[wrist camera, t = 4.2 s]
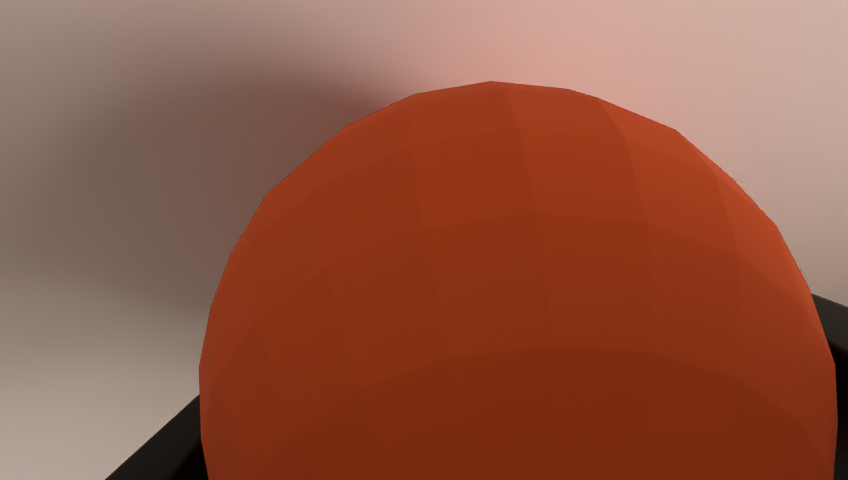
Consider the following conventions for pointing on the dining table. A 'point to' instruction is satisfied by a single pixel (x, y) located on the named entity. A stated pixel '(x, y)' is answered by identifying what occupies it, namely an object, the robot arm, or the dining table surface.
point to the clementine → (513, 308)
